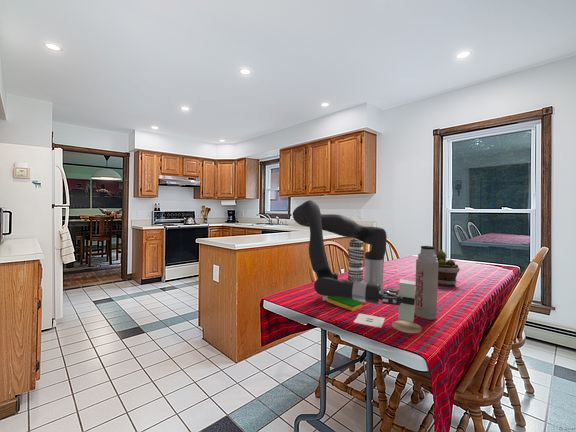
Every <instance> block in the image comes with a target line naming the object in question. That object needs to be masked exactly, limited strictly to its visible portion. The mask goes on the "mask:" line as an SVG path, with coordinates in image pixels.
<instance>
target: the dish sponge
mask: <svg viewBox="0 0 576 432" xmlns="http://www.w3.org/2000/svg"><path fill="white" fill-rule="evenodd" d="M326 302H327V303H330V304H332V305H335V306H337V307H339V308H340V307H341V308H343V309H345V310H349V311H353V312H354V311H356V310H359V309H361V308H363V302H361V301H357V300H353V299H347V298H343V297H332V296H328V297H327V301H326Z"/></svg>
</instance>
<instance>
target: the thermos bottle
mask: <svg viewBox="0 0 576 432" xmlns="http://www.w3.org/2000/svg"><path fill="white" fill-rule="evenodd" d="M435 249H436V248H435V246H431V245H421V246H420V252H419V253H418V254H417V259H416V260H415V281H416V285H415V295H416V296H415V305H414V316H417V317H418V318H422V319H427V320H436V319H437V316H438V293H439V291H438V288H439V285H438V261H437V255H436V253H435Z"/></svg>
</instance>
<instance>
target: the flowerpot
mask: <svg viewBox="0 0 576 432" xmlns="http://www.w3.org/2000/svg"><path fill="white" fill-rule="evenodd" d="M435 255H436V256H437V259H436V260H437V261H438V286H443V287H453V286H455V285H456V284H457V277H458V273H459V272H460V267H459V265H458V264H456V261H455V260H454V259H452V257H451V258H449V259H448V256H447V253H446V252H445V251H444V250H443V249H440V250H438V251H437V252H436V253H435Z"/></svg>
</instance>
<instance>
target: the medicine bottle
mask: <svg viewBox="0 0 576 432" xmlns="http://www.w3.org/2000/svg"><path fill="white" fill-rule="evenodd" d="M332 274H333V277H334V279H335V280H339V279H338V278H339V275H338V274H337V273H336V272H332ZM327 297H328V296H323V295H322V301H326V302H327Z"/></svg>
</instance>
